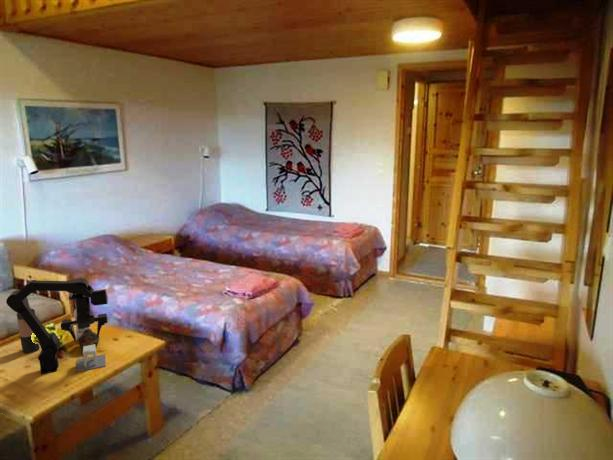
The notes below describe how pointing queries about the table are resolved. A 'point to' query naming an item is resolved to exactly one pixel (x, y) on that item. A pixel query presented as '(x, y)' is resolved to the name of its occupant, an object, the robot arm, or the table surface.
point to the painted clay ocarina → (88, 338)
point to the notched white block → (89, 353)
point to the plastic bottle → (78, 331)
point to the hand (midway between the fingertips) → (86, 339)
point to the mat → (90, 363)
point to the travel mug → (26, 336)
